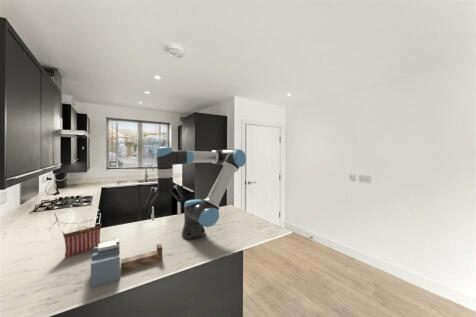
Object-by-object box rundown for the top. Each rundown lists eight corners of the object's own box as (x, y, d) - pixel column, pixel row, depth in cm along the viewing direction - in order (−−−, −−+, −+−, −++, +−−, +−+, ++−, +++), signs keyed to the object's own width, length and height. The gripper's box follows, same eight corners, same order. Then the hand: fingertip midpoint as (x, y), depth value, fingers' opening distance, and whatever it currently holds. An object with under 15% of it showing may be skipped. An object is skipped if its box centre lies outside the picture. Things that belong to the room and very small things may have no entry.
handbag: (52, 260, 98) (50, 211, 97) (101, 244, 114) (100, 202, 113) (54, 265, 94) (53, 214, 92) (105, 248, 110) (104, 205, 109)
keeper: (119, 246, 92) (119, 237, 92) (119, 251, 88) (119, 241, 88) (98, 251, 88) (98, 241, 88) (97, 256, 84) (97, 246, 83)
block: (119, 261, 97) (119, 239, 97) (120, 279, 84) (119, 253, 83) (95, 267, 92) (94, 244, 91) (91, 288, 78) (90, 260, 78)
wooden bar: (160, 256, 102) (160, 243, 102) (162, 260, 99) (162, 246, 98) (121, 267, 92) (120, 253, 92) (121, 271, 89) (120, 257, 89)
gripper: (185, 173, 111) (186, 210, 112) (137, 178, 96) (138, 220, 97) (190, 175, 105) (191, 213, 106) (140, 180, 90) (141, 225, 91)
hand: (166, 217), depth 101 cm, fingers open, 13 cm apart
